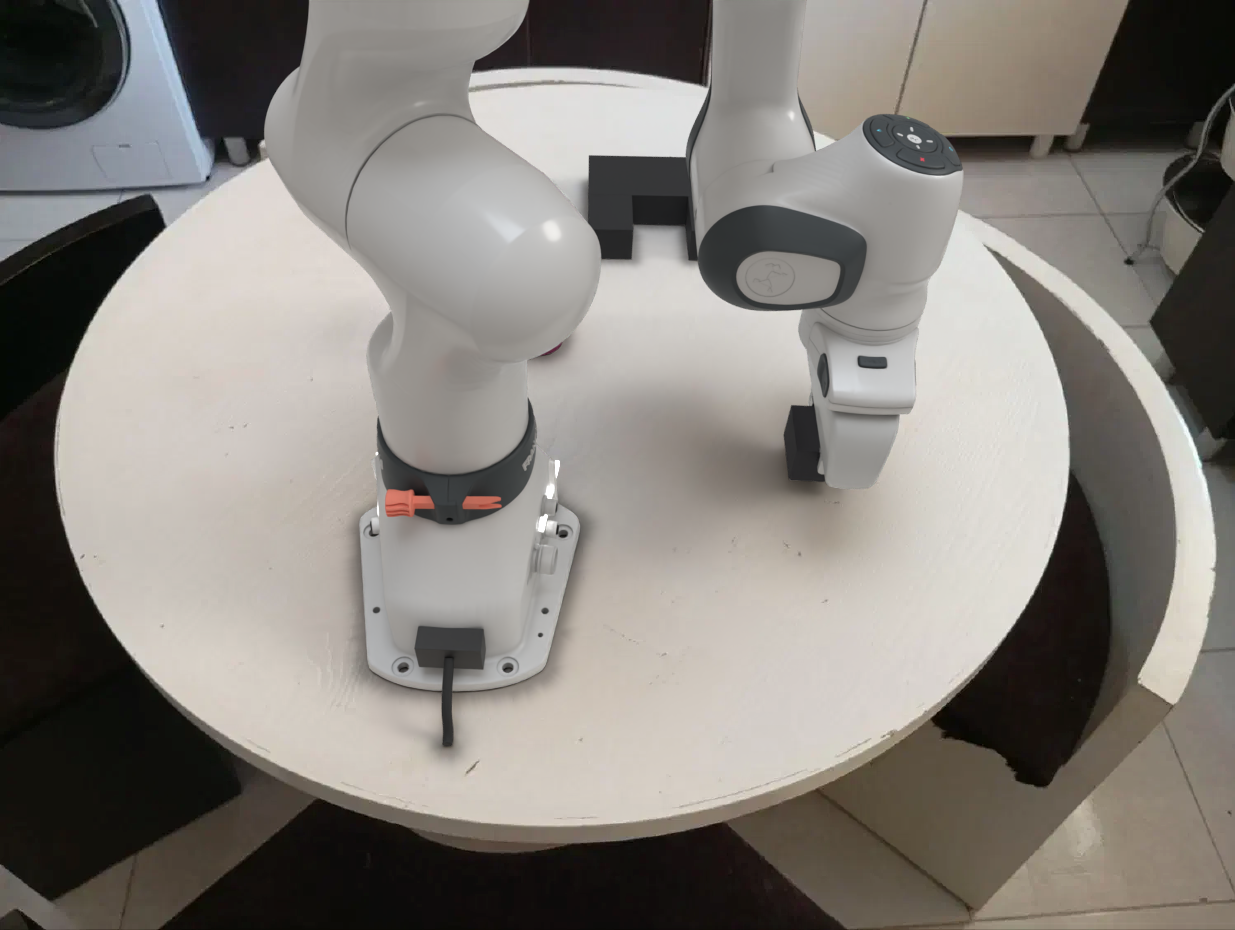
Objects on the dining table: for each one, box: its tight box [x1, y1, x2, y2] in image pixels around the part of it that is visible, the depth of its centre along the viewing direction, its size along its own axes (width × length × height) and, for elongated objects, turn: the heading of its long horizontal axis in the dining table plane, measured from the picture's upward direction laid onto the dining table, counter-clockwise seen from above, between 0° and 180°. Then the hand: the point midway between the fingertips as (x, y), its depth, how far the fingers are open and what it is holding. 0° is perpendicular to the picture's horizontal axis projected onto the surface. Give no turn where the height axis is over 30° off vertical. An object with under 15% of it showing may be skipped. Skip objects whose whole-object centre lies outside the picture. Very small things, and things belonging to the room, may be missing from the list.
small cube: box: [783, 404, 826, 483], centre depth 88 cm, size 6×6×4 cm
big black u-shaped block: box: [587, 154, 698, 261], centre depth 113 cm, size 14×16×4 cm
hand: (821, 439), depth 88 cm, fingers closed on small cube, 5 cm apart
